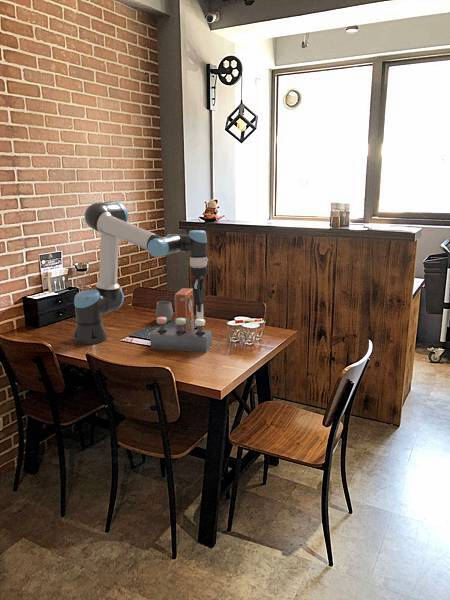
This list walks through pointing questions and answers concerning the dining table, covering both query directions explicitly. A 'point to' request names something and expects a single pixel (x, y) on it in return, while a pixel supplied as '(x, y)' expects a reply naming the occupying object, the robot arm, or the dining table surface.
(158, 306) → the cup
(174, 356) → the dining table surface
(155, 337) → the mount
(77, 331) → the robot arm
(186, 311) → the orange cardboard box
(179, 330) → the knob mid
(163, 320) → the knob
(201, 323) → the knob
